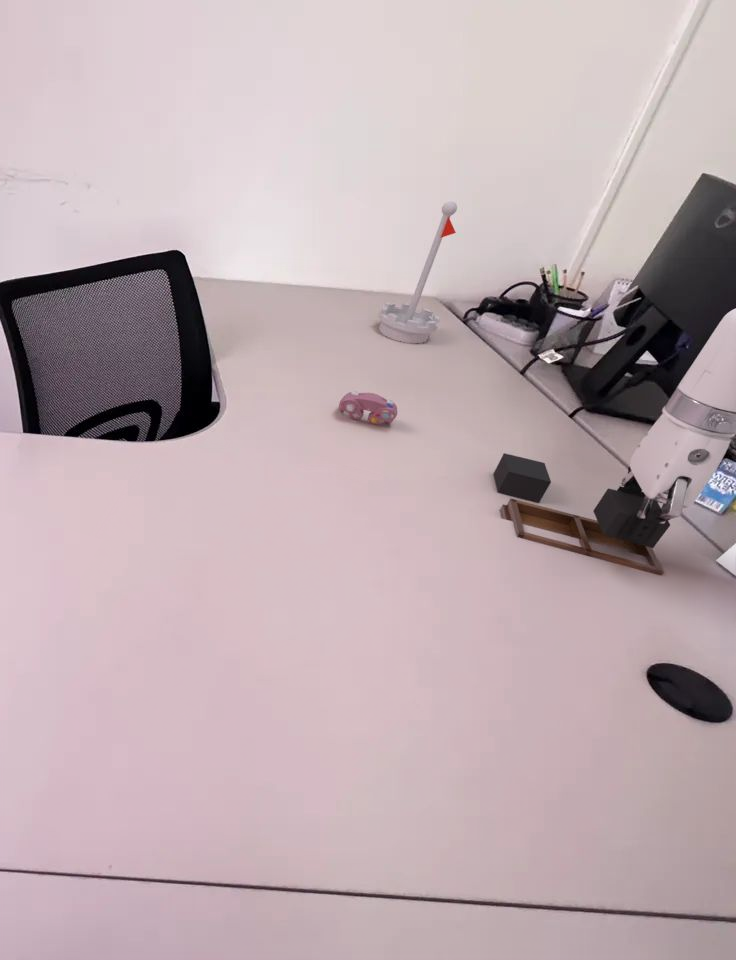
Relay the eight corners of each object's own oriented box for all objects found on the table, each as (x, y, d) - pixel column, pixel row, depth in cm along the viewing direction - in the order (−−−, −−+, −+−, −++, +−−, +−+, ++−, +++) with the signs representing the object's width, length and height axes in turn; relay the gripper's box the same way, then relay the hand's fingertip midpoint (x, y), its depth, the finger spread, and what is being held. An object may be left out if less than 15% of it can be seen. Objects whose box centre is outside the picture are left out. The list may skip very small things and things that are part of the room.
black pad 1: (533, 483, 109) (544, 462, 107) (539, 503, 104) (551, 482, 102) (493, 473, 110) (503, 452, 108) (497, 492, 106) (508, 471, 103)
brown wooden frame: (636, 545, 97) (646, 531, 96) (657, 588, 89) (668, 574, 88) (499, 509, 102) (507, 496, 100) (508, 548, 94) (516, 534, 93)
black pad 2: (640, 523, 94) (656, 500, 91) (653, 548, 89) (670, 525, 87) (592, 510, 95) (607, 487, 93) (602, 535, 90) (618, 511, 88)
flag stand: (365, 322, 165) (408, 192, 148) (414, 324, 166) (462, 196, 149) (390, 344, 154) (439, 206, 137) (442, 346, 156) (497, 211, 139)
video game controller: (333, 422, 123) (341, 398, 117) (338, 403, 125) (347, 379, 119) (389, 436, 121) (400, 413, 115) (393, 416, 123) (405, 393, 117)
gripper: (772, 453, 74) (675, 574, 84) (714, 390, 87) (637, 501, 98) (694, 435, 76) (608, 556, 86) (649, 376, 89) (580, 486, 100)
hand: (624, 525), depth 92 cm, fingers closed on black pad 2, 6 cm apart
